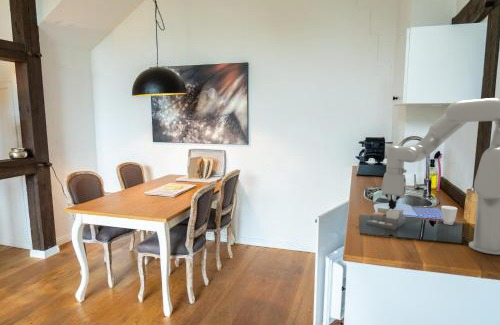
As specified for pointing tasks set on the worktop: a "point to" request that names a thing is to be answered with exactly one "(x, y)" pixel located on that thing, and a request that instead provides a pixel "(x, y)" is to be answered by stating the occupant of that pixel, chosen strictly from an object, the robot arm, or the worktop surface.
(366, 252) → the worktop surface
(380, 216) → the terracotta key
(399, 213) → the slate key
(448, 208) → the cup
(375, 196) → the l-shaped corner panel
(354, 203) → the worktop surface
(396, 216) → the ivory key
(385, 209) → the sage key
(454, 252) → the worktop surface
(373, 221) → the keypad board
